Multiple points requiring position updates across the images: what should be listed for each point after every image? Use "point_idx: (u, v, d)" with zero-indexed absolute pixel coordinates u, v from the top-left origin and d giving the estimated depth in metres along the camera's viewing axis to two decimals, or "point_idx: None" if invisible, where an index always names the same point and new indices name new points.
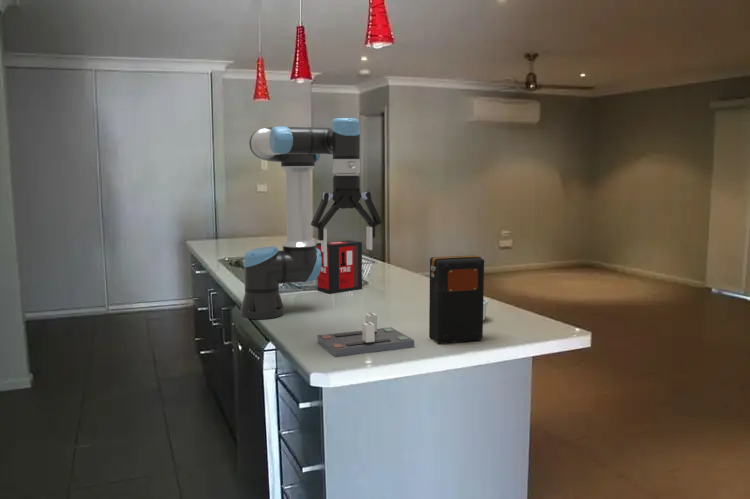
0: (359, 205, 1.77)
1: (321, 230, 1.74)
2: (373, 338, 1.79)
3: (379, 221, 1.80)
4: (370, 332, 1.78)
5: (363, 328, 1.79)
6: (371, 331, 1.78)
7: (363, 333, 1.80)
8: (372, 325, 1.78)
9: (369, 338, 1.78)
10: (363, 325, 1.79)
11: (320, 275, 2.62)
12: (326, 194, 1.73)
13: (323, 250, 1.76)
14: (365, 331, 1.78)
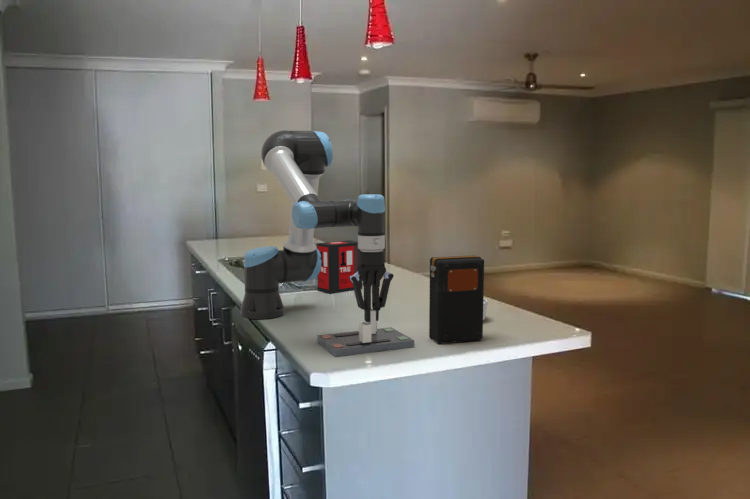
0: (378, 283, 1.77)
1: (370, 311, 1.78)
2: (370, 338, 1.78)
3: (383, 304, 1.79)
4: (367, 332, 1.78)
5: (360, 328, 1.79)
6: (368, 332, 1.78)
7: (360, 334, 1.79)
8: (369, 325, 1.78)
9: (365, 339, 1.78)
10: (360, 325, 1.79)
11: (320, 275, 2.62)
12: (353, 278, 1.74)
13: None
14: (361, 331, 1.78)
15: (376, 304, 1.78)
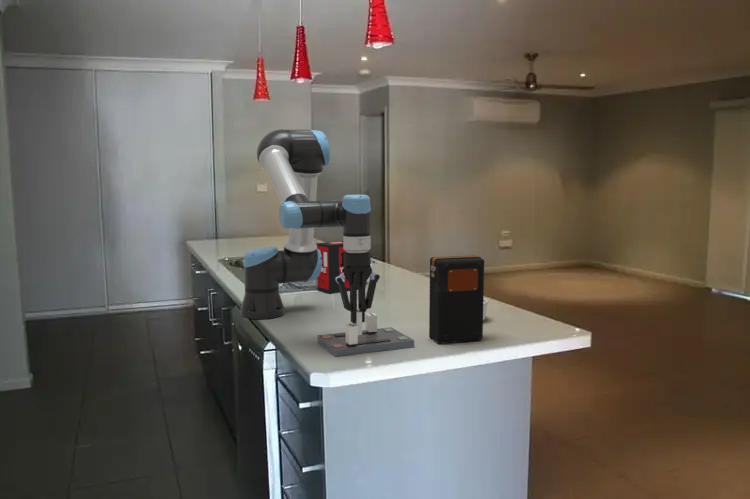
0: (364, 284, 1.75)
1: (356, 312, 1.76)
2: (356, 340, 1.77)
3: (369, 305, 1.77)
4: (353, 334, 1.76)
5: (346, 330, 1.77)
6: (354, 333, 1.76)
7: (346, 335, 1.78)
8: (355, 327, 1.76)
9: (352, 340, 1.76)
10: (346, 327, 1.77)
11: (320, 275, 2.62)
12: (338, 279, 1.73)
13: None
14: (347, 332, 1.76)
15: (362, 305, 1.76)
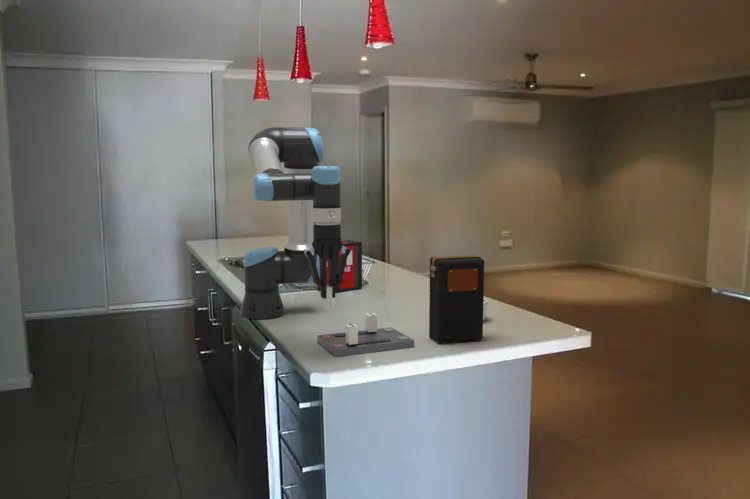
0: (334, 258, 1.71)
1: (326, 287, 1.72)
2: (356, 340, 1.77)
3: (340, 280, 1.73)
4: (353, 334, 1.76)
5: (346, 330, 1.77)
6: (354, 333, 1.76)
7: (346, 335, 1.78)
8: (355, 327, 1.76)
9: (352, 340, 1.76)
10: (346, 327, 1.77)
11: None
12: (307, 253, 1.68)
13: (326, 308, 1.73)
14: (348, 332, 1.76)
15: (332, 280, 1.72)
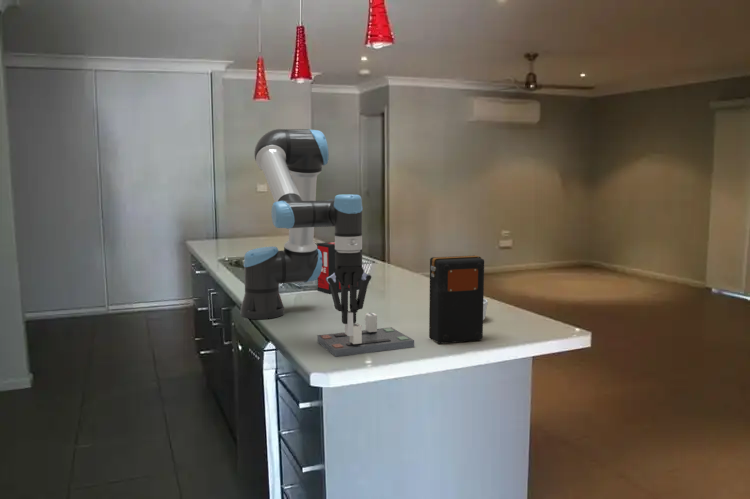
0: (355, 284, 1.74)
1: (347, 313, 1.75)
2: (360, 339, 1.77)
3: (361, 306, 1.76)
4: (357, 333, 1.76)
5: None
6: (358, 333, 1.76)
7: None
8: (359, 326, 1.76)
9: (356, 340, 1.77)
10: None
11: (320, 275, 2.62)
12: (329, 280, 1.72)
13: (347, 333, 1.76)
14: None
15: (353, 306, 1.75)
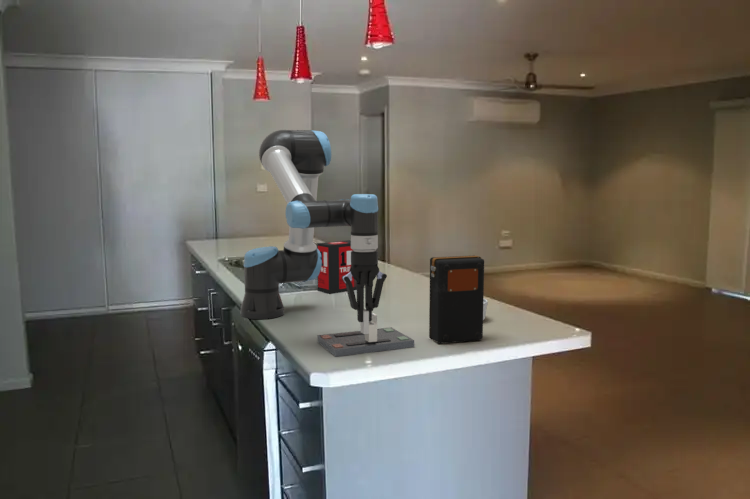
0: (371, 283, 1.76)
1: (363, 311, 1.77)
2: (376, 338, 1.79)
3: (376, 305, 1.78)
4: (373, 331, 1.78)
5: None
6: (373, 331, 1.78)
7: None
8: (375, 325, 1.78)
9: (371, 338, 1.78)
10: None
11: (320, 275, 2.62)
12: (346, 278, 1.73)
13: (363, 332, 1.78)
14: None
15: (369, 304, 1.77)
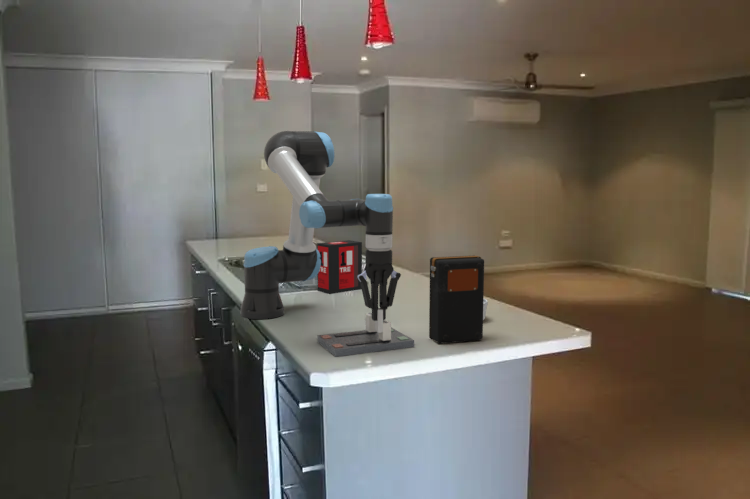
0: (385, 282, 1.78)
1: (377, 310, 1.79)
2: (389, 336, 1.80)
3: (390, 303, 1.80)
4: (387, 330, 1.80)
5: None
6: (387, 329, 1.80)
7: None
8: (389, 323, 1.80)
9: (385, 336, 1.80)
10: None
11: (320, 275, 2.62)
12: (361, 277, 1.75)
13: (377, 330, 1.80)
14: None
15: (383, 303, 1.79)
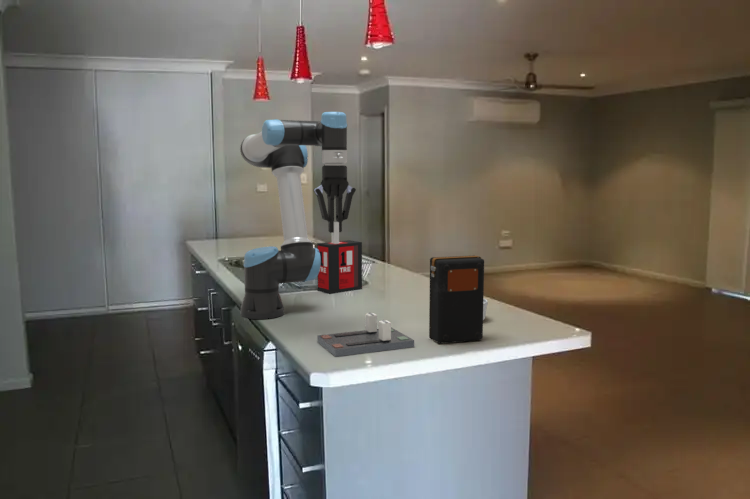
0: (341, 195, 1.90)
1: (334, 222, 1.91)
2: (389, 336, 1.80)
3: (346, 216, 1.91)
4: (387, 330, 1.80)
5: (379, 326, 1.81)
6: (387, 329, 1.80)
7: (379, 332, 1.82)
8: (388, 323, 1.80)
9: (385, 336, 1.80)
10: (379, 323, 1.81)
11: (320, 275, 2.62)
12: (317, 190, 1.87)
13: (333, 241, 1.92)
14: (381, 329, 1.80)
15: (339, 216, 1.91)
